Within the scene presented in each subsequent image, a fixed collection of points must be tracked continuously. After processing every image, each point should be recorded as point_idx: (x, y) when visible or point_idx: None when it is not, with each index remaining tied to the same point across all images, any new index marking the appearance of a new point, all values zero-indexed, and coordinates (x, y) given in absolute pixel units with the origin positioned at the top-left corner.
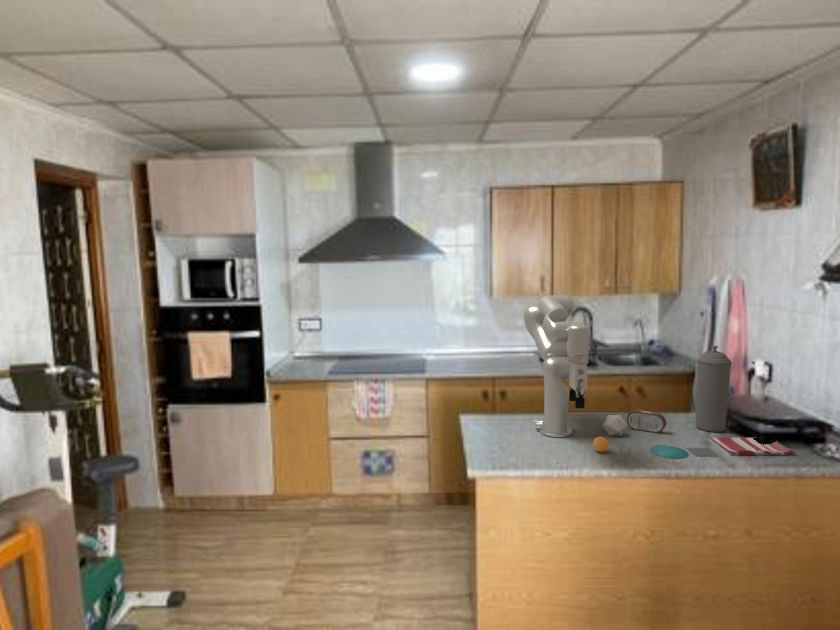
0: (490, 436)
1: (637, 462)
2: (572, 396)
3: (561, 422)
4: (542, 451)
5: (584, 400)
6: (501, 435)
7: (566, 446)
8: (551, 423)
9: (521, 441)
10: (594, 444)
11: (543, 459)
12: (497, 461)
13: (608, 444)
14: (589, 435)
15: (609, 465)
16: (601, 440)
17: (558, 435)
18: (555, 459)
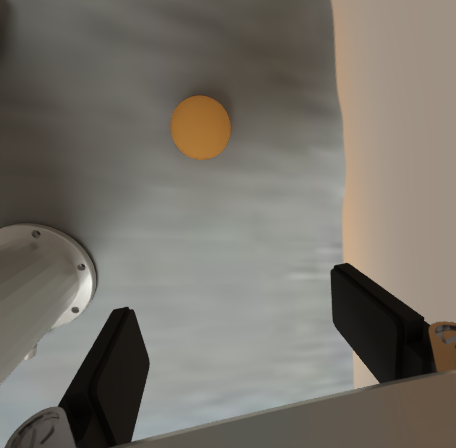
0: (140, 435)
1: (286, 5)
2: (135, 380)
3: (44, 283)
4: (231, 307)
5: (393, 297)
6: None
7: (174, 242)
8: (56, 316)
9: (161, 363)
10: (214, 156)
11: (290, 302)
12: (313, 394)
13: (211, 98)
14: (24, 154)
15: (320, 119)
16: (221, 127)
17: (91, 270)
18: (287, 273)
